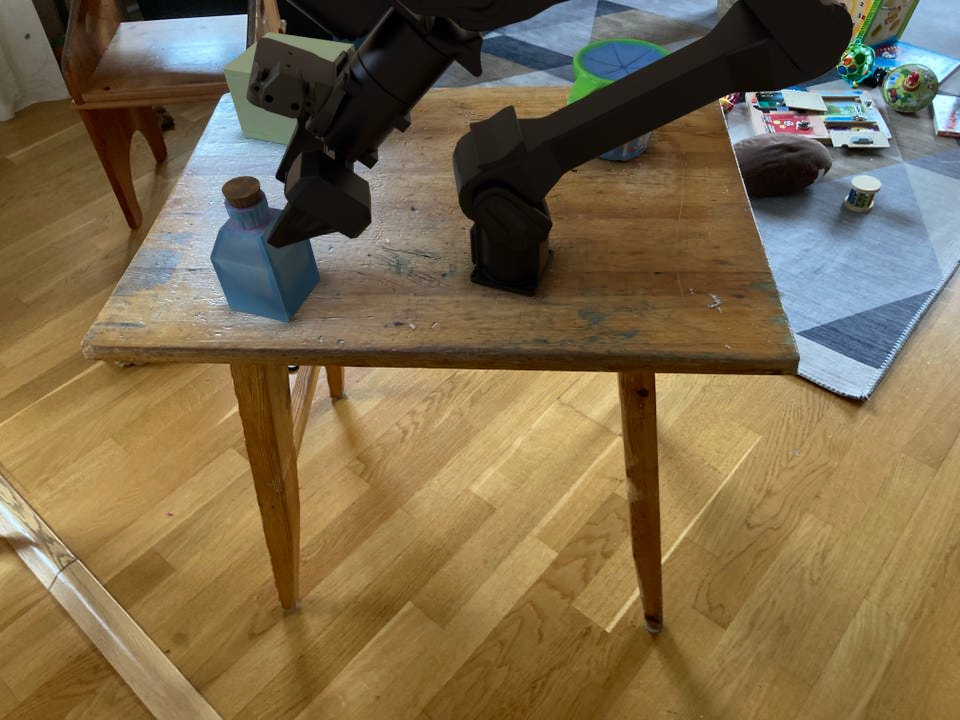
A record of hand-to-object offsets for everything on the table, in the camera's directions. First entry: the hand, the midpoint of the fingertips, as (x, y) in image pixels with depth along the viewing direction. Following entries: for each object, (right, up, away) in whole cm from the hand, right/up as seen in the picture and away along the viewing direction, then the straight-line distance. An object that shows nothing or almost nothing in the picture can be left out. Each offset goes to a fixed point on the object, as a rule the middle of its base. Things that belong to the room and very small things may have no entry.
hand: (276, 210), depth 63 cm
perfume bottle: (-2, -7, +7) cm, 10 cm away
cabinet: (-4, +16, +27) cm, 32 cm away
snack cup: (+33, +12, +22) cm, 41 cm away
